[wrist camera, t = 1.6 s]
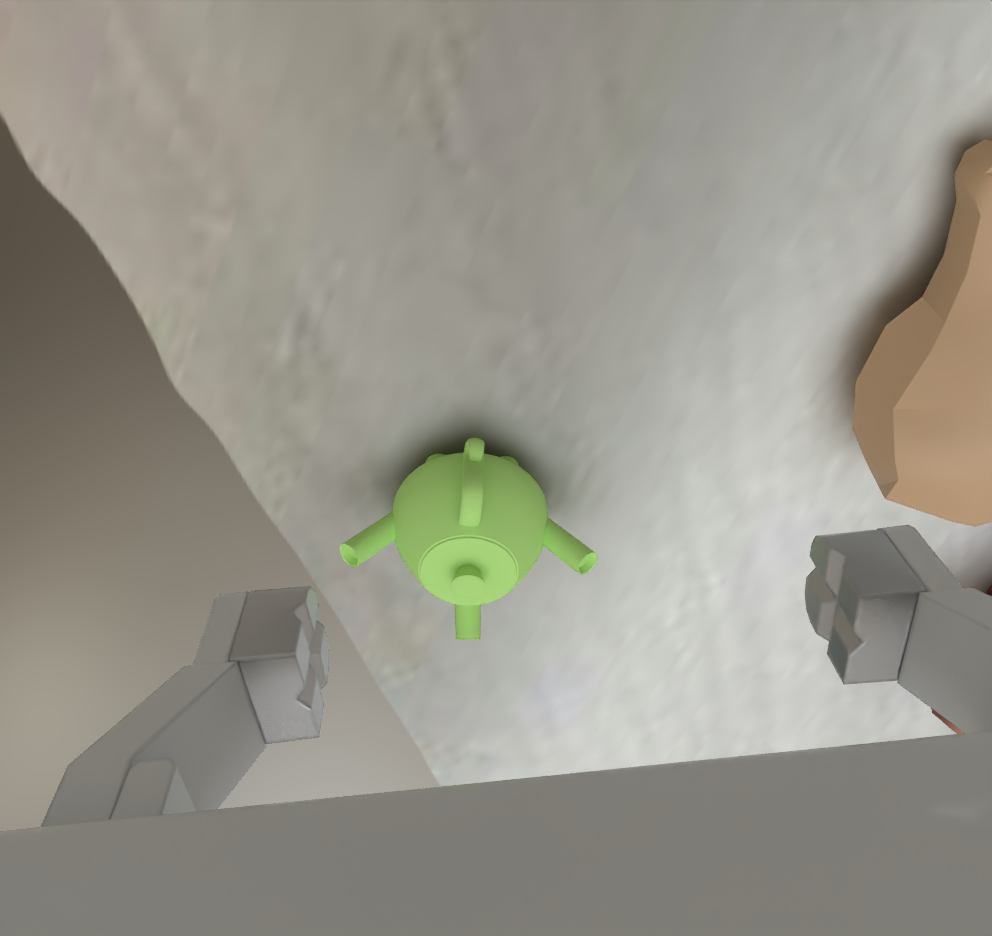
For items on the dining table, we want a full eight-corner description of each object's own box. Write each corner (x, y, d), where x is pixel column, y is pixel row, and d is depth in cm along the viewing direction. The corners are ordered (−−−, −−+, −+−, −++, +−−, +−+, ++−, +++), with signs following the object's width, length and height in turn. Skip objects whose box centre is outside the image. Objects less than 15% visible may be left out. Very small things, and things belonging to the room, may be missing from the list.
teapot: (477, 385, 49) (475, 478, 43) (598, 497, 55) (612, 595, 48) (346, 484, 54) (326, 582, 47) (469, 578, 59) (466, 678, 53)
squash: (827, 464, 53) (851, 551, 46) (875, 125, 43) (916, 167, 36) (1018, 469, 51) (1076, 561, 44) (1117, 113, 41) (1214, 155, 33)
